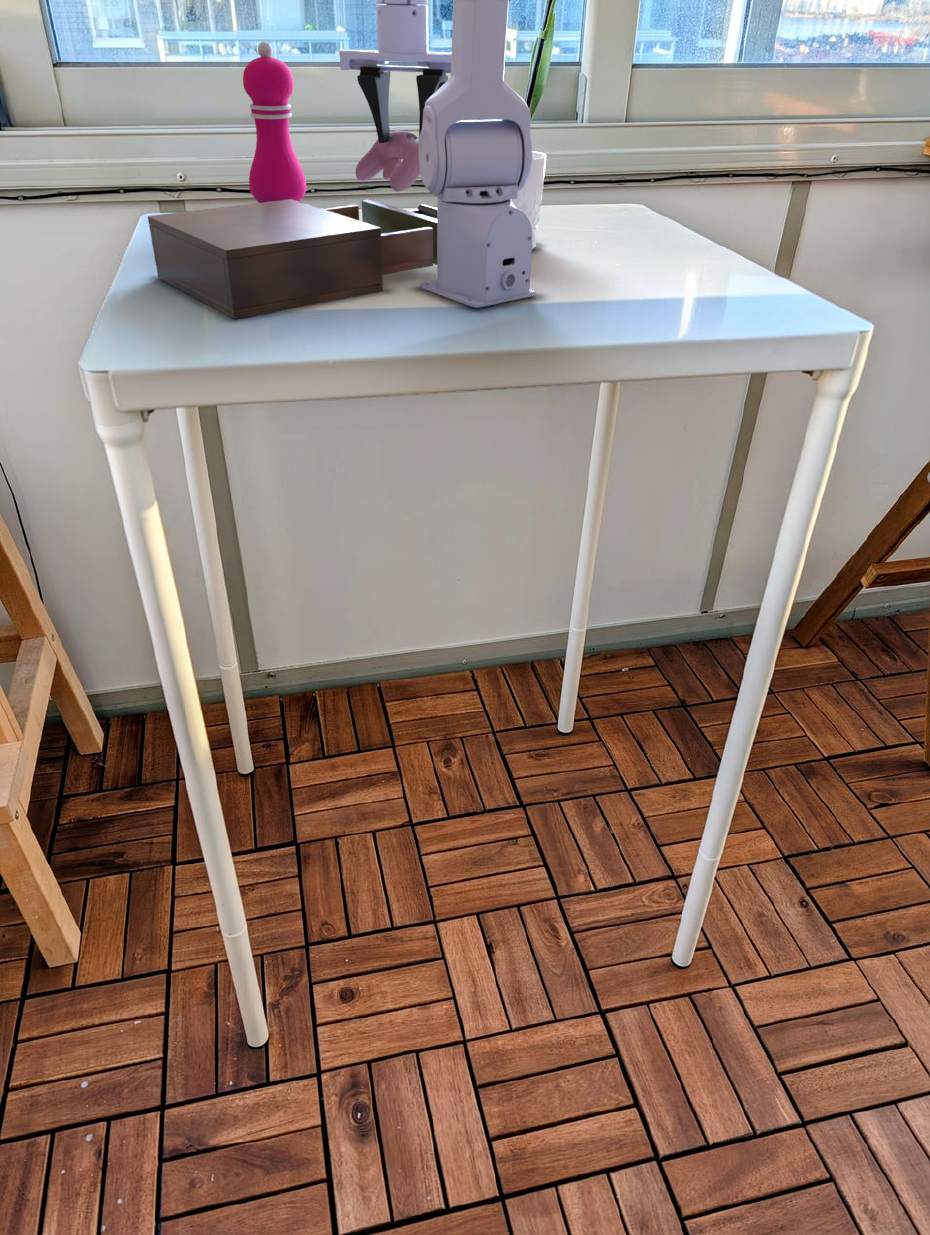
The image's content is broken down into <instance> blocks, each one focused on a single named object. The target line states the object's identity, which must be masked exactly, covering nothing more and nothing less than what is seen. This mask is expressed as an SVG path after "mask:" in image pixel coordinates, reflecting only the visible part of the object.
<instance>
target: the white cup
mask: <svg viewBox="0 0 930 1235" xmlns="http://www.w3.org/2000/svg"><path fill="white" fill-rule="evenodd" d="M546 161H547V155H546V154H545V153H543V152H539V151H535V150H532V167H531V172H530V175H529V178H528V180H527V182H526V183H525V185H524V187H523V188H522V189H521V190H519V191H518V193H517V199H511V200H512V203H513V205H514V206H515V207H516V208H517V209H519V210H521V211H522V212H524V213H525V214H526V216H527V217H528V219H529V221H530V224H531V228H532V250H533V249H535V248H536V246H537V240H538V229H539V227H538V225H539V221H540V218H541V217H540V216H541V207H542V200H543V190H544V183H545V182H544V181H545V171H546V170H545V169H546V163H547V162H546Z"/></svg>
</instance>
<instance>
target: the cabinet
mask: <svg viewBox="0 0 930 1235" xmlns="http://www.w3.org/2000/svg"><path fill="white" fill-rule="evenodd" d="M147 222H148V227H149V233H150V238H151V245H152V249H153V256H154V262H155V267H156V274H157V278H158V279H159V280H161V281H163V282H165V283H167V284H168V285H170V286H172V287H174V288H176V289H178V290H180V291H181V292H183V293H185V294H187V295H188V296H191V297H192V298H195V299H196V300H199V302H201V303H204V304H205V305H207V306H209V307H211V308H213V309H215V310H217V311H219V312H220V313H222V314H224V315H226V316H228V317H230V318H232V319H233V320H238V319H243V318H248V317H254V316H259V315H265V314H270V313H276V312H281V311H285V310H290V309H296V308H301V307H307V306H312V305H313V306H314V305H317V304H318V305H319V304H322V303H328V302H334V301H338V300H344V299H349V298H354V297H360V296H365V295H370V294H375V293H380V292H384V287H383V285H384V284H383V275H382V249H381V228H380V227H376V226H373V225H370V224H367V223H364V222H362V221H360V220H359V221H358V220H355V219H352V218H349V217H345V216H342V215H339V214H336V213H333V212H330V211H327V210H324V208H321V207H318V206H314V205H311V204H308V203H305V202H302V201H300V202H299V201H296V200H293V199H288V200H280V201H271V202H263V203H259V202H255V203H248V204H239V205H229V206H221V207H214V208H213V207H212V208H205V209H197V210H196V209H195V210H189V211H180V212H171V213H163V214H156V215H155V214H154V215H147Z"/></svg>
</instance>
